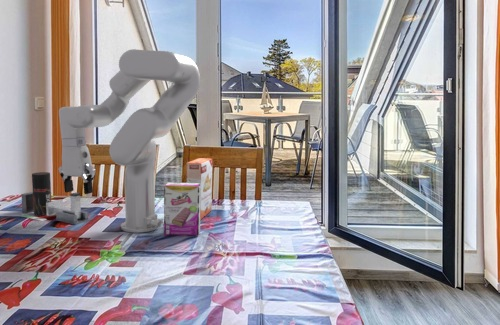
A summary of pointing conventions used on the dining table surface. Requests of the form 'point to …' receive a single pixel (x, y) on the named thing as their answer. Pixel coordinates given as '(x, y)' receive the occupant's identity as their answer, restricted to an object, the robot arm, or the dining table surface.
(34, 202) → the deodorant
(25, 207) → the grey flat block
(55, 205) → the grey angular piece
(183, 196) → the candy bar box
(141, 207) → the robot arm
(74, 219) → the grey metal bracket
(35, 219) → the strips
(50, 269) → the dining table surface
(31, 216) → the green band
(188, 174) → the cracker box
